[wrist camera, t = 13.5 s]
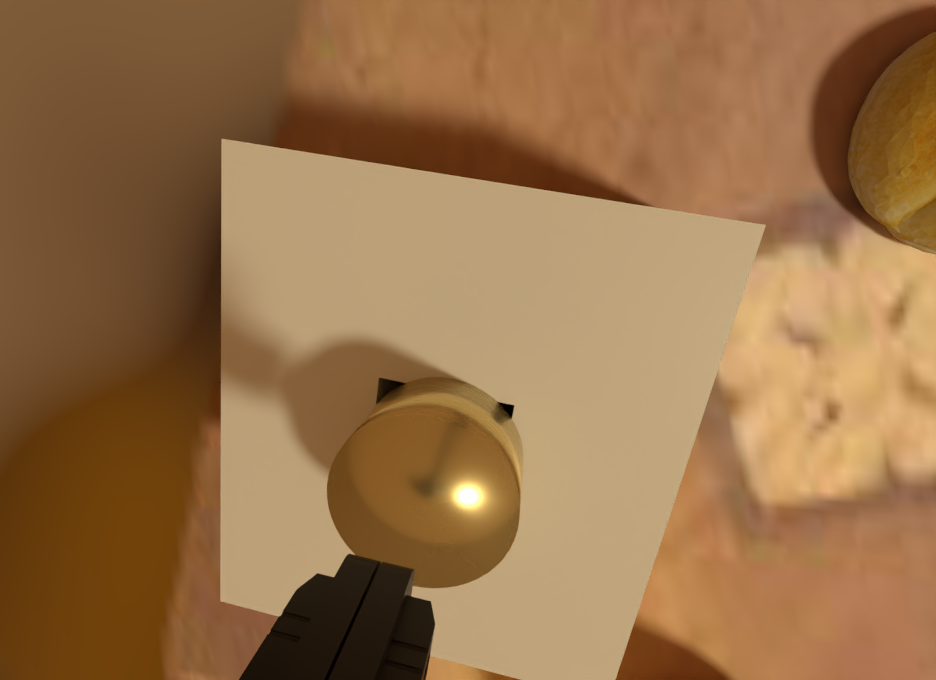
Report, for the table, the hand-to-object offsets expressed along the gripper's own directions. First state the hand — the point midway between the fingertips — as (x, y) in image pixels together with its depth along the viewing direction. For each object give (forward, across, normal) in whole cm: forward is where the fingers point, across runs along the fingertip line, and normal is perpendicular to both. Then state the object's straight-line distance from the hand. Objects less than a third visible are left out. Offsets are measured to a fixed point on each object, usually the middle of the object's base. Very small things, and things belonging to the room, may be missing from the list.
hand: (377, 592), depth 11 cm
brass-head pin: (+15, 0, 0) cm, 15 cm away
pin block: (+16, 0, 0) cm, 16 cm away
